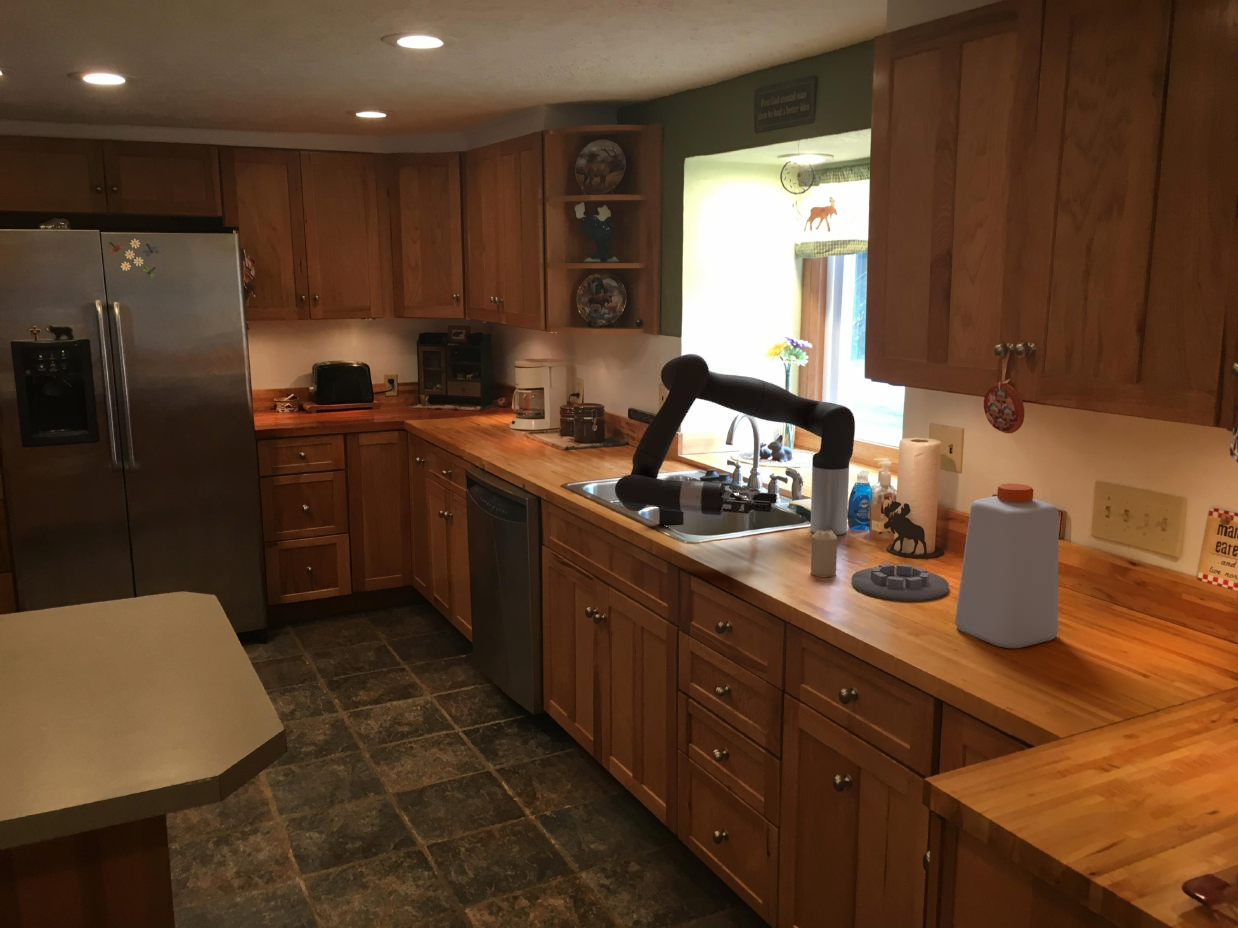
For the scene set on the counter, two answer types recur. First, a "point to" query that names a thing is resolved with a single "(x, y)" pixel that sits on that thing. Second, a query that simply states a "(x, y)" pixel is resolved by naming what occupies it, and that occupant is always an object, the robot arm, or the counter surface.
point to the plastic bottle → (1010, 570)
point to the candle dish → (898, 594)
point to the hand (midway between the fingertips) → (773, 502)
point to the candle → (824, 553)
